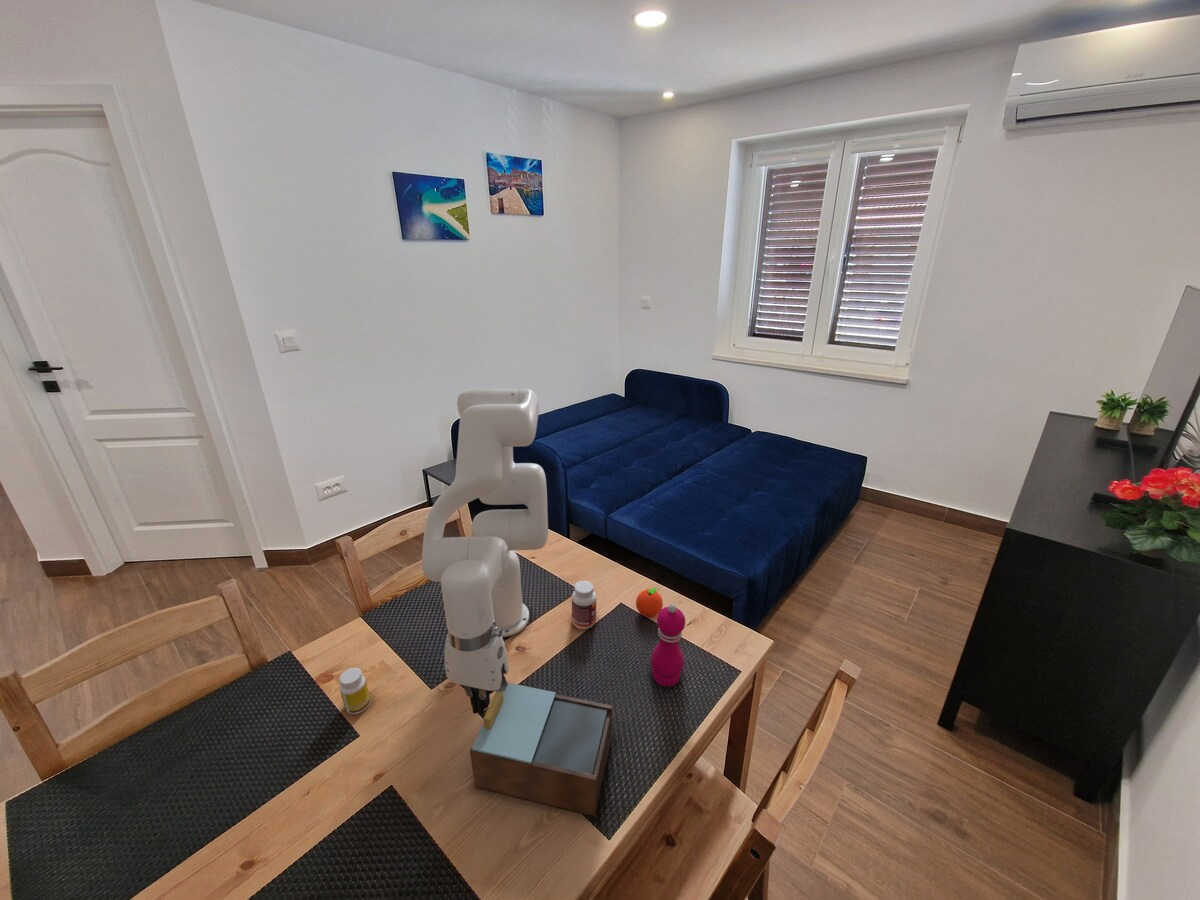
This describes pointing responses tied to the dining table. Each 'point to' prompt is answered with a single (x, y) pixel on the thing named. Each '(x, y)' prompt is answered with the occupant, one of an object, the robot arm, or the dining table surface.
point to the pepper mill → (668, 647)
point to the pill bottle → (584, 605)
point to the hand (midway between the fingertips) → (481, 707)
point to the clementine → (649, 602)
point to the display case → (556, 760)
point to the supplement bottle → (354, 691)
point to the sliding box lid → (515, 723)
